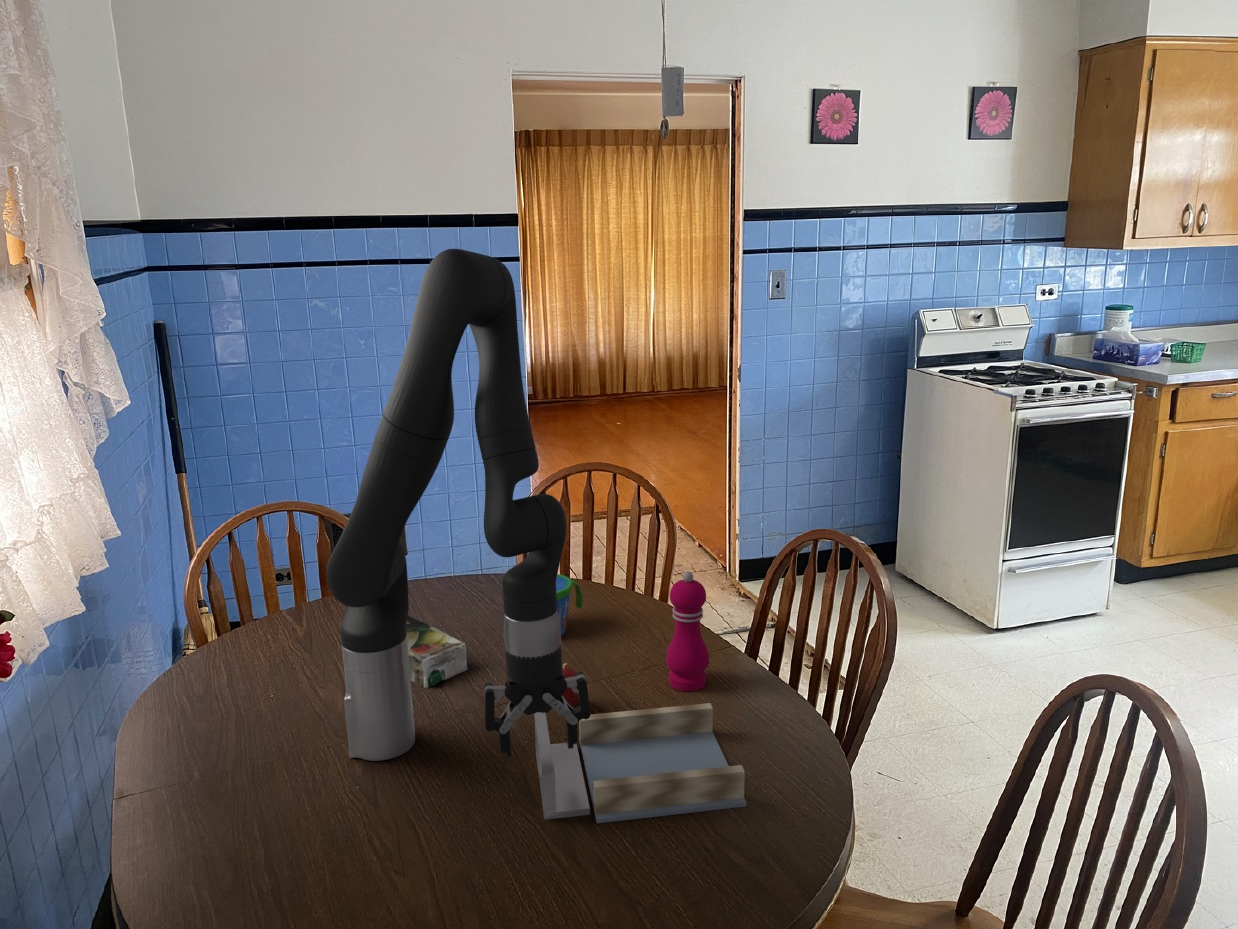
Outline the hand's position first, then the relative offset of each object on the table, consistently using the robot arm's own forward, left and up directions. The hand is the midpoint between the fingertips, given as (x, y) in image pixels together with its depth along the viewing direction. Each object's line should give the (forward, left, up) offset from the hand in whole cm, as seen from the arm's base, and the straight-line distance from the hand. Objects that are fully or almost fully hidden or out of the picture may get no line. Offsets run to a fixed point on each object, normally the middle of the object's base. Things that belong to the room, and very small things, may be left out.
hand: (539, 749), depth 124 cm
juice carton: (-20, +40, -6) cm, 45 cm away
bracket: (+3, 0, -5) cm, 6 cm away
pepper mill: (+26, +24, -5) cm, 36 cm away
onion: (+5, +19, -5) cm, 20 cm away
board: (+16, 0, -5) cm, 17 cm away
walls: (+16, 0, -5) cm, 17 cm away
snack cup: (+4, +48, -5) cm, 48 cm away
